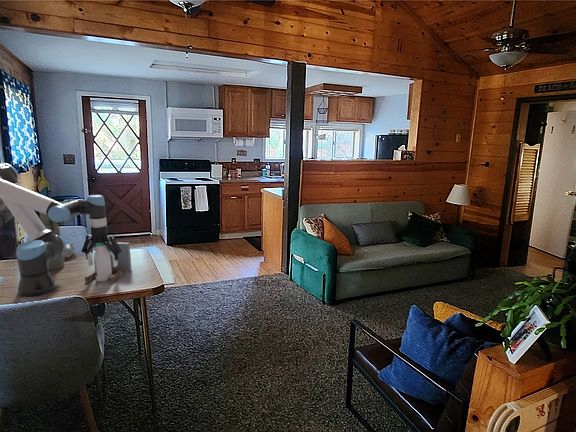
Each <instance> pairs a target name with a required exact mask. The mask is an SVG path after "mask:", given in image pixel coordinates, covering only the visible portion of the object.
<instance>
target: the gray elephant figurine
mask: <svg viewBox="0 0 576 432" xmlns="http://www.w3.org/2000/svg"><path fill="white" fill-rule="evenodd" d="M74 250H76V246H74V244H73V243H72V242H71V243H66V249H65V251H64V253H63V258H64V260H65V259H66V257H67V256H68V257H70V256H73V257H74V258H77V253H76V252H75V251H74Z"/></svg>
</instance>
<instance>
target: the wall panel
mask: <svg viewBox="0 0 576 432" xmlns="http://www.w3.org/2000/svg"><path fill="white" fill-rule="evenodd" d="M116 242H117V241H116ZM110 243H111V242H110ZM117 244H118V246H119V247H120V249H121V251H122V252H121V253H119V254H118V260H117V263H118V266H116V267H113V257H112V255H113V253H112V252H111V251H110V250H109V248H108V247H107V246H105V247H106V250H107V251H108V253H109V255H110V259H111V268H112V269H124V271H126V272H125V273H127V272H128V273H131V272H132V270H133V269H132V257H131V247H130V246H131V245H130V242H121V241H120V242H119V241H118V242H117ZM130 271H131V272H130Z"/></svg>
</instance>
